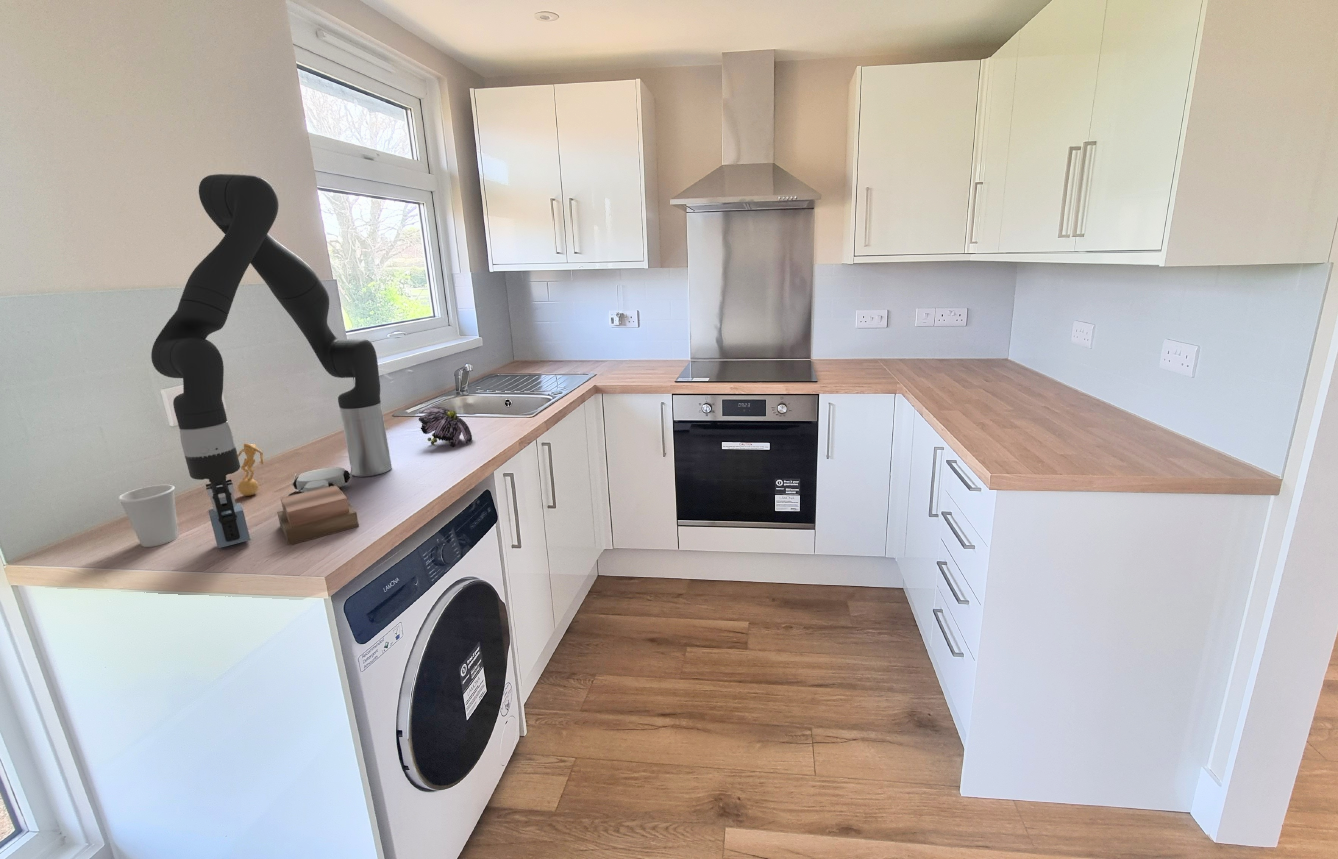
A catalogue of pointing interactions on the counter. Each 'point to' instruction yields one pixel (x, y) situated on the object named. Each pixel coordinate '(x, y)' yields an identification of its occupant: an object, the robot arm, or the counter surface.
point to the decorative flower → (444, 426)
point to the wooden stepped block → (316, 514)
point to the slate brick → (219, 530)
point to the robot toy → (321, 479)
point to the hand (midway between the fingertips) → (232, 534)
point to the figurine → (249, 484)
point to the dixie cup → (152, 514)
